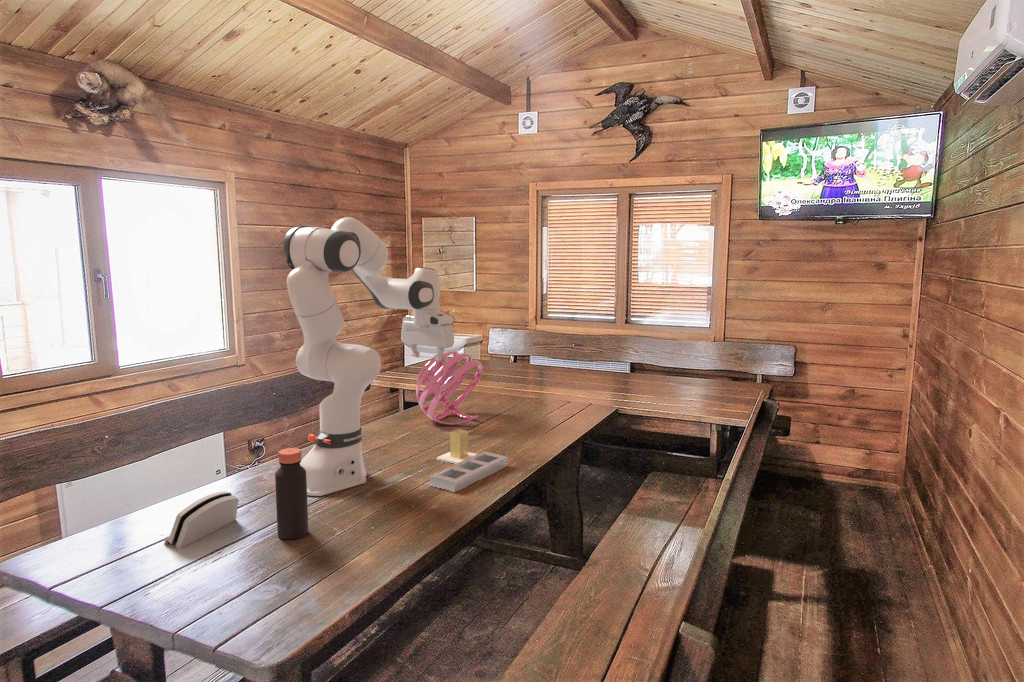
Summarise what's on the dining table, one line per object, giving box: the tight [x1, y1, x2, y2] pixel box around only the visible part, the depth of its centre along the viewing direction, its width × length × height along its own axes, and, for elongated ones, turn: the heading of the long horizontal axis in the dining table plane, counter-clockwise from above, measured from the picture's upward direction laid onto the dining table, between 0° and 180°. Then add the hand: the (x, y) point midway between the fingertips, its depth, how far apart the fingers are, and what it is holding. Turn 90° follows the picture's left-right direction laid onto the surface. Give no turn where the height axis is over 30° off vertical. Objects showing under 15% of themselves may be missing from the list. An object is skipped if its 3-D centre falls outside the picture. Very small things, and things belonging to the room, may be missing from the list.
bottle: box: [274, 447, 309, 541], centre depth 149 cm, size 7×7×20 cm
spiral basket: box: [415, 350, 484, 426], centre depth 245 cm, size 28×28×27 cm
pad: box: [435, 451, 478, 465], centre depth 204 cm, size 10×10×1 cm
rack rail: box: [429, 451, 509, 493], centre depth 189 cm, size 26×9×3 cm, turn 147°
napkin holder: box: [163, 490, 239, 549], centre depth 150 cm, size 17×5×10 cm, turn 159°
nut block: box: [449, 428, 469, 459], centre depth 204 cm, size 4×4×8 cm
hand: (427, 358), depth 214 cm, fingers open, 8 cm apart
